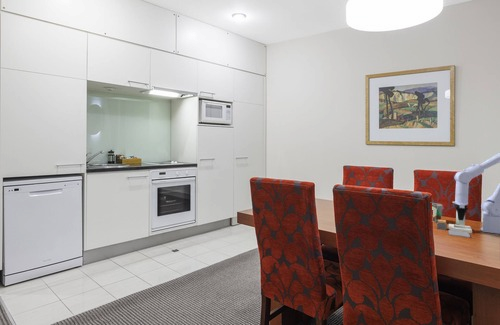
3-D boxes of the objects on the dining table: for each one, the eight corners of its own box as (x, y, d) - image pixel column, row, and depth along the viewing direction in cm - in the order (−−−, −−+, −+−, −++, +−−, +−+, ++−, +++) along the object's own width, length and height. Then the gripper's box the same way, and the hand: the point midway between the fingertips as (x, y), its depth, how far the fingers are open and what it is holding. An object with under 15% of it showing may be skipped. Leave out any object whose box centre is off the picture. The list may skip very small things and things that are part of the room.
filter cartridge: (464, 224, 175) (465, 208, 174) (464, 225, 171) (465, 209, 171) (455, 223, 177) (456, 207, 176) (456, 224, 173) (456, 209, 173)
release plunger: (445, 227, 176) (445, 220, 176) (445, 229, 173) (446, 221, 173) (437, 226, 178) (438, 219, 178) (437, 228, 175) (438, 220, 175)
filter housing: (470, 228, 176) (470, 223, 176) (471, 233, 167) (472, 227, 167) (436, 224, 184) (437, 219, 184) (437, 228, 175) (437, 223, 175)
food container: (447, 223, 188) (448, 206, 187) (436, 223, 188) (437, 206, 188) (435, 218, 200) (436, 202, 200) (425, 218, 201) (426, 202, 200)
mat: (468, 233, 167) (468, 232, 167) (470, 237, 159) (470, 236, 159) (448, 230, 171) (448, 230, 171) (448, 234, 163) (449, 234, 163)
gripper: (452, 191, 181) (451, 215, 182) (453, 195, 169) (452, 220, 169) (467, 192, 178) (466, 217, 179) (469, 196, 165) (468, 222, 166)
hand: (460, 219), depth 174 cm, fingers closed on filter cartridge, 4 cm apart
